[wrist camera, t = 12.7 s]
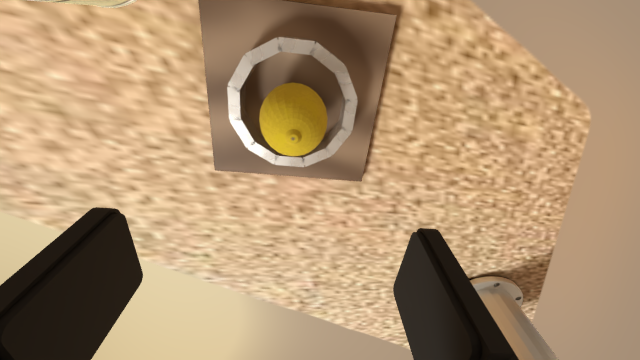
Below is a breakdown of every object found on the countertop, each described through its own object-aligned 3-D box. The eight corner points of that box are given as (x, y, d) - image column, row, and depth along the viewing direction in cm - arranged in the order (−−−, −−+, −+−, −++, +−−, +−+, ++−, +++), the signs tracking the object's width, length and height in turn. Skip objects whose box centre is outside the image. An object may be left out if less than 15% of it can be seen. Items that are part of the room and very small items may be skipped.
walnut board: (360, 177, 31) (361, 181, 30) (217, 166, 30) (214, 170, 29) (393, 15, 23) (396, 15, 22) (201, -10, 22) (197, -11, 21)
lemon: (325, 75, 25) (336, 102, 18) (320, 132, 27) (328, 174, 21) (263, 71, 24) (250, 97, 17) (265, 130, 27) (254, 171, 20)
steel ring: (342, 159, 29) (345, 170, 27) (237, 150, 28) (231, 161, 26) (361, 45, 23) (366, 47, 21) (231, 29, 23) (223, 30, 20)
